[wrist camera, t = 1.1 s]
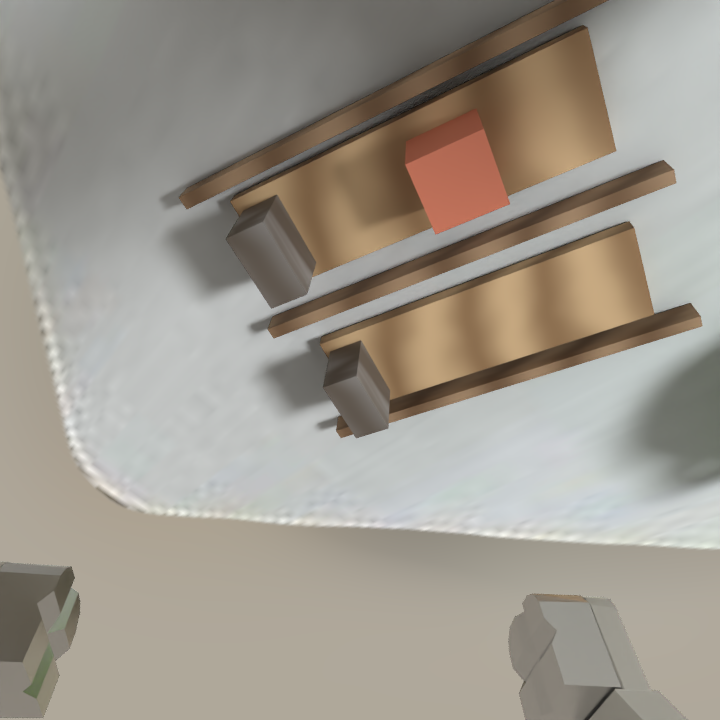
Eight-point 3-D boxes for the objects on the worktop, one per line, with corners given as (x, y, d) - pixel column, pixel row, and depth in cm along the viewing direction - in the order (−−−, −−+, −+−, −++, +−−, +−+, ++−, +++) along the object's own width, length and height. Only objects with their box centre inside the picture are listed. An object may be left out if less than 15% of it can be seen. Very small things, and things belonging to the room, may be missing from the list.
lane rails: (626, -37, 34) (636, -35, 32) (692, 312, 47) (702, 326, 45) (187, 187, 44) (178, 197, 42) (342, 423, 57) (340, 438, 55)
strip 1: (582, 25, 36) (610, 39, 31) (611, 145, 40) (639, 175, 35) (234, 195, 44) (211, 229, 39) (287, 281, 48) (272, 321, 43)
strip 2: (629, 221, 43) (657, 258, 38) (649, 306, 47) (677, 350, 42) (321, 336, 51) (311, 380, 46) (361, 401, 55) (356, 447, 50)
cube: (476, 108, 38) (483, 128, 34) (500, 177, 40) (510, 203, 36) (405, 141, 39) (405, 164, 35) (433, 205, 42) (435, 234, 38)
